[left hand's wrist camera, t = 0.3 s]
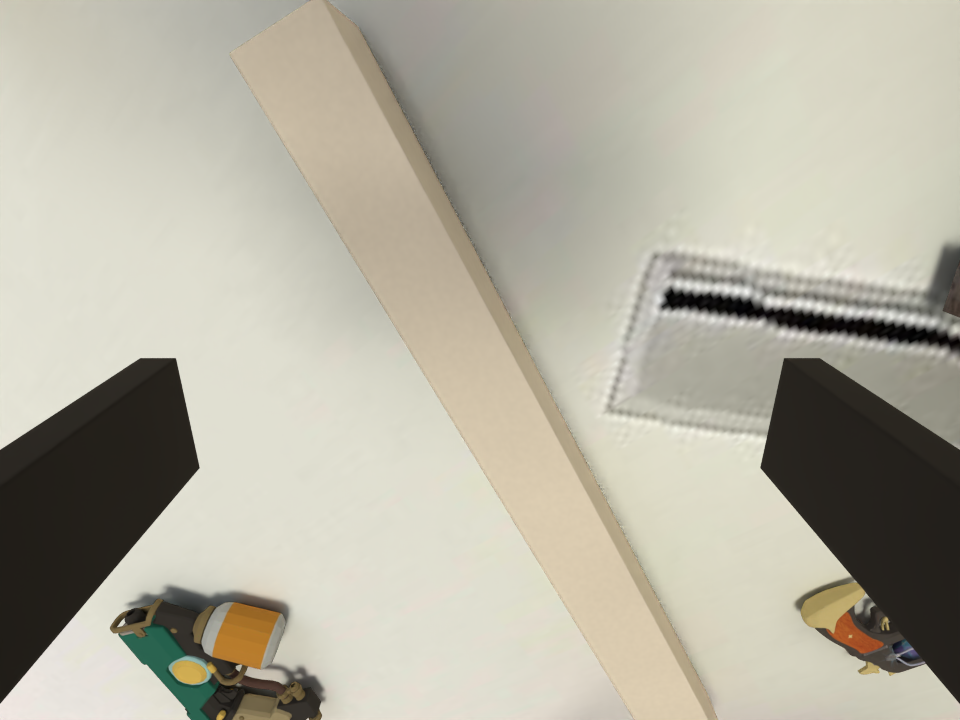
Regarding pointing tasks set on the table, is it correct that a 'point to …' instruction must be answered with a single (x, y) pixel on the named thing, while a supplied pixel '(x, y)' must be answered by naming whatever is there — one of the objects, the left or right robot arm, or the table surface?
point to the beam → (464, 340)
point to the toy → (954, 296)
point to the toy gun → (859, 630)
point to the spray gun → (215, 659)
